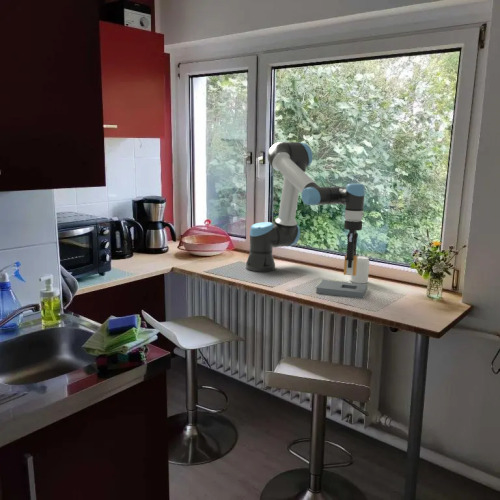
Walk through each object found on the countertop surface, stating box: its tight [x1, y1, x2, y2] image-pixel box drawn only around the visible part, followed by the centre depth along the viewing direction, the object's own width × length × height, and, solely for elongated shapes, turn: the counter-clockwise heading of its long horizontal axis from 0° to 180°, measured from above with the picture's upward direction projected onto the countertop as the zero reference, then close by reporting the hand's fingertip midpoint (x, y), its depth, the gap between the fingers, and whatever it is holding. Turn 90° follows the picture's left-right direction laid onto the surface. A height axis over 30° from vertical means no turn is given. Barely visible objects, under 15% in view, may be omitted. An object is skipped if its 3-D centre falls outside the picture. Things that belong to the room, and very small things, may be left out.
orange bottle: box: [343, 254, 359, 276], centre depth 217 cm, size 5×4×10 cm
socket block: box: [315, 279, 368, 299], centre depth 220 cm, size 20×14×2 cm
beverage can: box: [350, 255, 370, 284], centre depth 235 cm, size 8×8×12 cm
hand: (350, 273), depth 217 cm, fingers closed on orange bottle, 4 cm apart
